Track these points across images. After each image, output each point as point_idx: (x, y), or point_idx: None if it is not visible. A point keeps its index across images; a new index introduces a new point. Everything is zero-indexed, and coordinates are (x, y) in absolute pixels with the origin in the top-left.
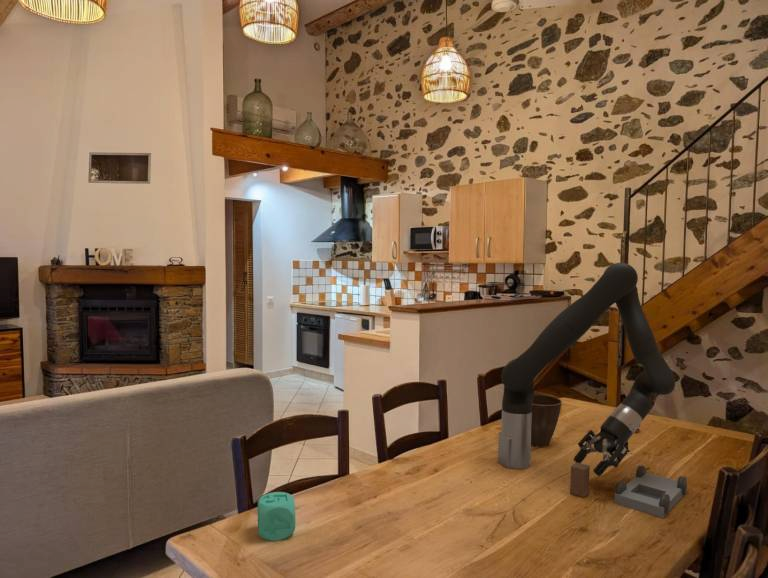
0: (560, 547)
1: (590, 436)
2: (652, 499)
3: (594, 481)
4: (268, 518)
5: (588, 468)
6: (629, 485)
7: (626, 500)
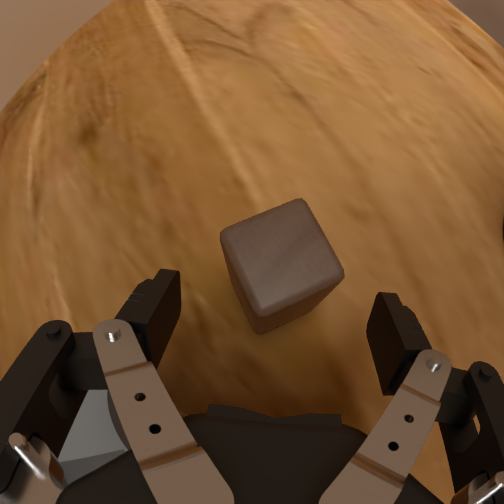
0: (82, 69)
1: (490, 479)
2: None
3: None
4: None
5: (242, 291)
6: None
7: None
